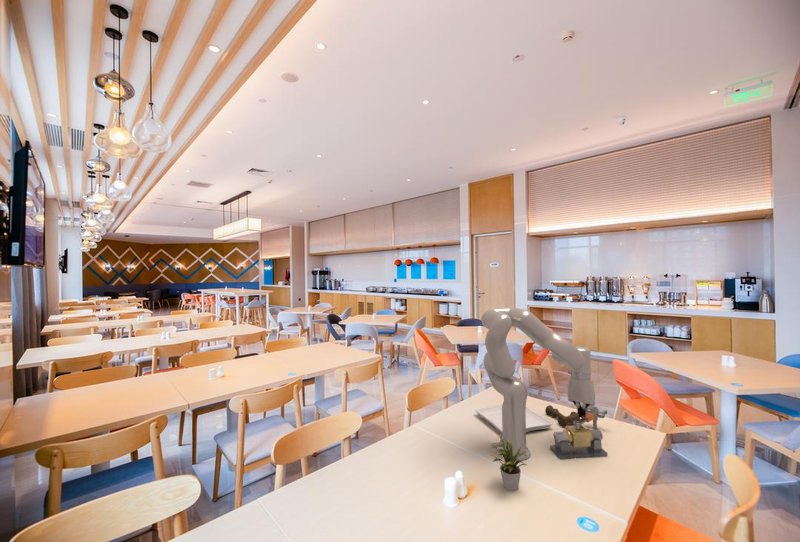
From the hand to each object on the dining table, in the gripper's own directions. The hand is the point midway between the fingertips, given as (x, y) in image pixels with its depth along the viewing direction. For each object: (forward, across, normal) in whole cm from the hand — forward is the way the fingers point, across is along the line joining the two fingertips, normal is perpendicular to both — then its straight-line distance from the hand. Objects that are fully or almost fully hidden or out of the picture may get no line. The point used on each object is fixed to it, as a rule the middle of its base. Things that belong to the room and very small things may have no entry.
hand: (581, 416), depth 149 cm
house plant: (+12, -14, -48) cm, 51 cm away
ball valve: (+12, +1, -10) cm, 15 cm away
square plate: (+12, -32, +1) cm, 34 cm away
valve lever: (0, +2, -5) cm, 5 cm away
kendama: (+12, -12, +16) cm, 23 cm away
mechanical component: (+12, +2, +18) cm, 21 cm away
